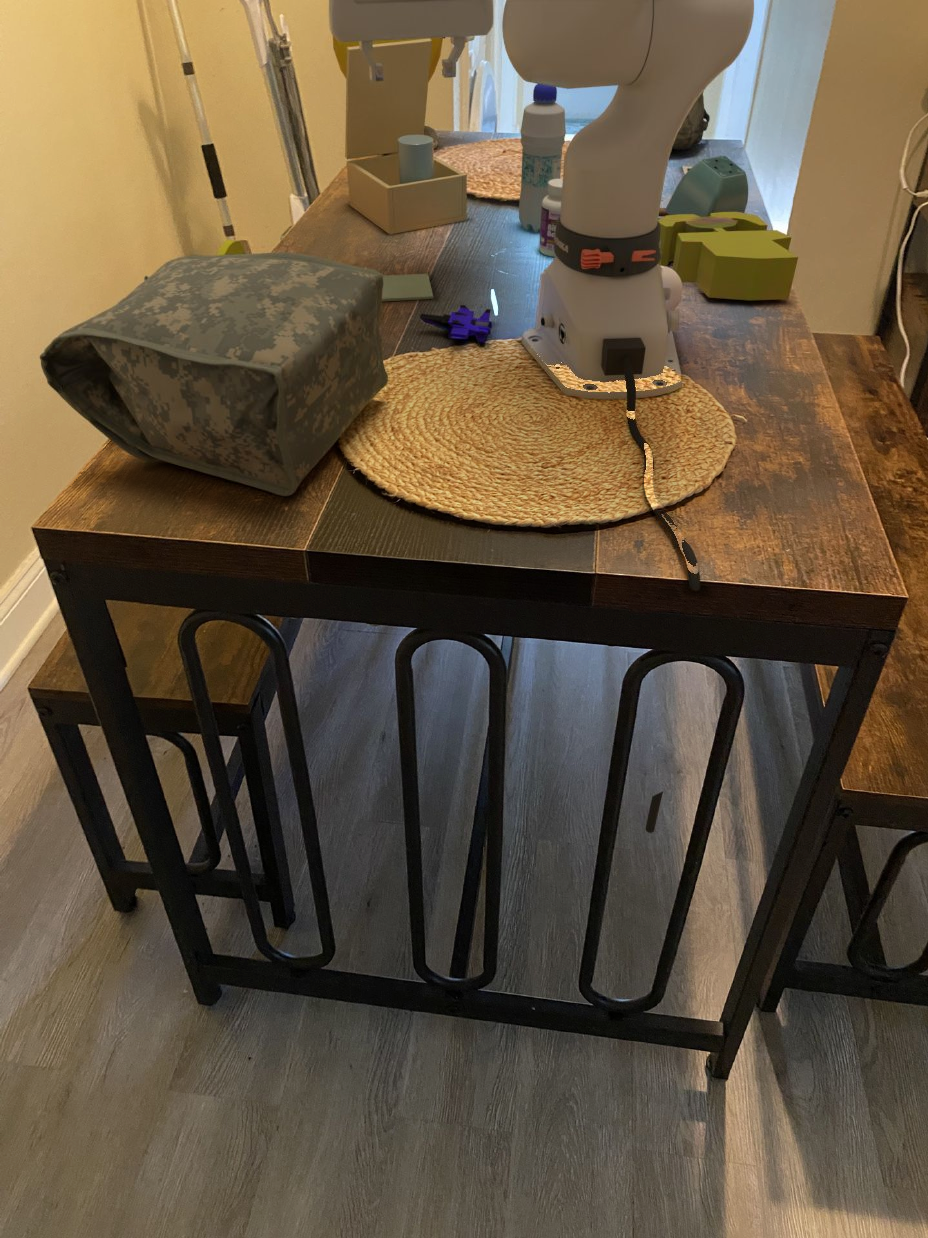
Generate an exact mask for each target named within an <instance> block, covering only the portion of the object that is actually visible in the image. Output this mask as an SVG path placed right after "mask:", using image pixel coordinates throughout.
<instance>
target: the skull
mask: <svg viewBox="0 0 928 1238" xmlns="http://www.w3.org/2000/svg"><path fill="white" fill-rule="evenodd" d="M704 92H705V90H704V91H703V92H702V94H701V95H700V96H699V98H698V99H697V100H696V102H695V103H694V105H693V106H692V108H691V109H690V111H689V113H688V114H687V116H686V118H685V120H684V122H683V124H682V125H681V127H680V130H679V132H678V134H677V136H676V139H675V141H674V144H673V146H672V150H674V151H684V150H688V149H690V148H691V147H692V146H696V145H698V144H699V143H700V142H701V141H702V140H703V137H704V132H706V131H707V130H708V127H709V122H710V120H711V119H710V117H711V116H710V115H709V114H708V112H707V110H706V108H705V98H704ZM705 120H706V121H705Z"/></svg>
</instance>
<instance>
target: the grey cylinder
mask: <svg viewBox="0 0 928 1238" xmlns="http://www.w3.org/2000/svg"><path fill="white" fill-rule="evenodd" d="M434 150H435V149H434V148H433V138H432V137H430V136H426V135H406V136H402V137H400V138H399V139H398V158H399V180H400V184H405V183H411V182H417V181H423V180H429V179H434V157H435V155H434Z"/></svg>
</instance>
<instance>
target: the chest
mask: <svg viewBox="0 0 928 1238" xmlns="http://www.w3.org/2000/svg"><path fill="white" fill-rule="evenodd" d="M346 173H347V184H348V185H347V187H348V198H349V206H350V207H351V208H352V209H354V210H355V211H357V212H358V213H359V214H361V215H362V216H363V217H365V218H367V219H368V220H369V221H371V223H373V224H374V225H376V226H377V227H379V228H380V229H381V230H383V231H384V232H386V233H387V234H388V235H394V234H400V233H407V232H410V231H411V232H412V231H416V230H421V229H426V228H427V229H428V228H432V227H433V228H434V227H438V226H443V225H448V224H454V223H459V222H464V221H467V220H468V175H467V174H466V173H464V172H462V171H460V170H459V169H457V168H455V167H453V166H451V165H450V164H448V163H446V162H445V161H442V160H441V159H439V158H437V157H435V156H434V179H429V180H423V181H417V182H411V183H405V184H400V180H399V158H398V154H392V155H388V154H384V155H378V156H373V157H372V156H371V157H368V158H358V159H354V160H348V161H347V160H346Z"/></svg>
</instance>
